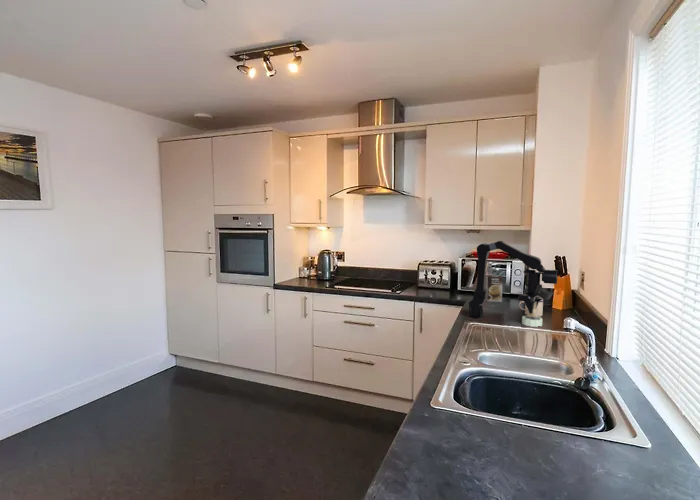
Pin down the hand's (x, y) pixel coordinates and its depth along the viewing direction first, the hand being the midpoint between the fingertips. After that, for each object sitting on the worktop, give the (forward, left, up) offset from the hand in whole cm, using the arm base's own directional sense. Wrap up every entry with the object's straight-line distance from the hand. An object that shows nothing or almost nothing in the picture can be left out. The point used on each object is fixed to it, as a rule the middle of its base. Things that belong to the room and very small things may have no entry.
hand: (532, 312), depth 188 cm
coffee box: (-40, +33, -6) cm, 52 cm away
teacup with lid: (-9, +18, -6) cm, 21 cm away
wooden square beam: (0, 0, -2) cm, 2 cm away
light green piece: (0, 0, -6) cm, 6 cm away
